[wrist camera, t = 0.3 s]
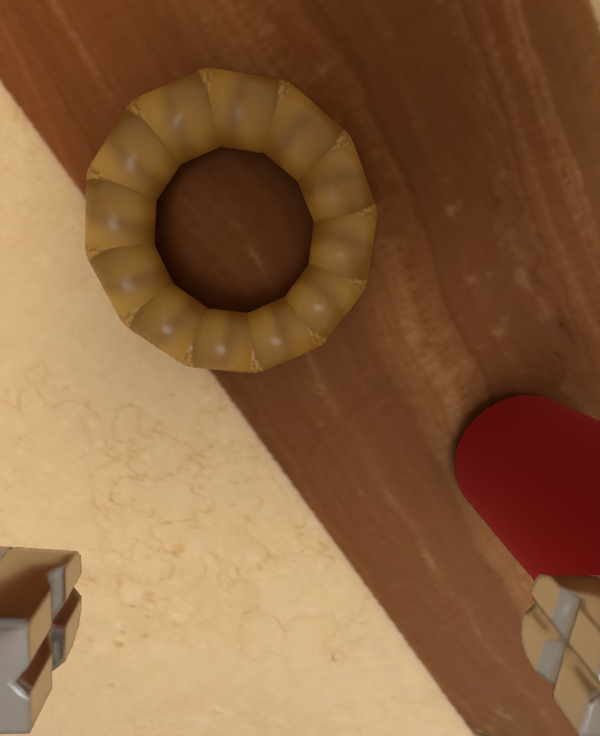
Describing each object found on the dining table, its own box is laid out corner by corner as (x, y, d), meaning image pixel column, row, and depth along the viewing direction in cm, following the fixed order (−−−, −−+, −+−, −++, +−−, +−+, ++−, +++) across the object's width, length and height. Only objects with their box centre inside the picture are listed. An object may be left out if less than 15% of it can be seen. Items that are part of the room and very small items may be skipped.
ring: (102, 64, 18) (75, 31, 15) (385, 111, 19) (404, 88, 16) (96, 349, 20) (73, 362, 18) (346, 374, 21) (357, 390, 19)
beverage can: (503, 532, 24) (723, 782, 13) (420, 456, 23) (584, 661, 11) (597, 446, 24) (925, 628, 12) (518, 361, 22) (804, 476, 10)
